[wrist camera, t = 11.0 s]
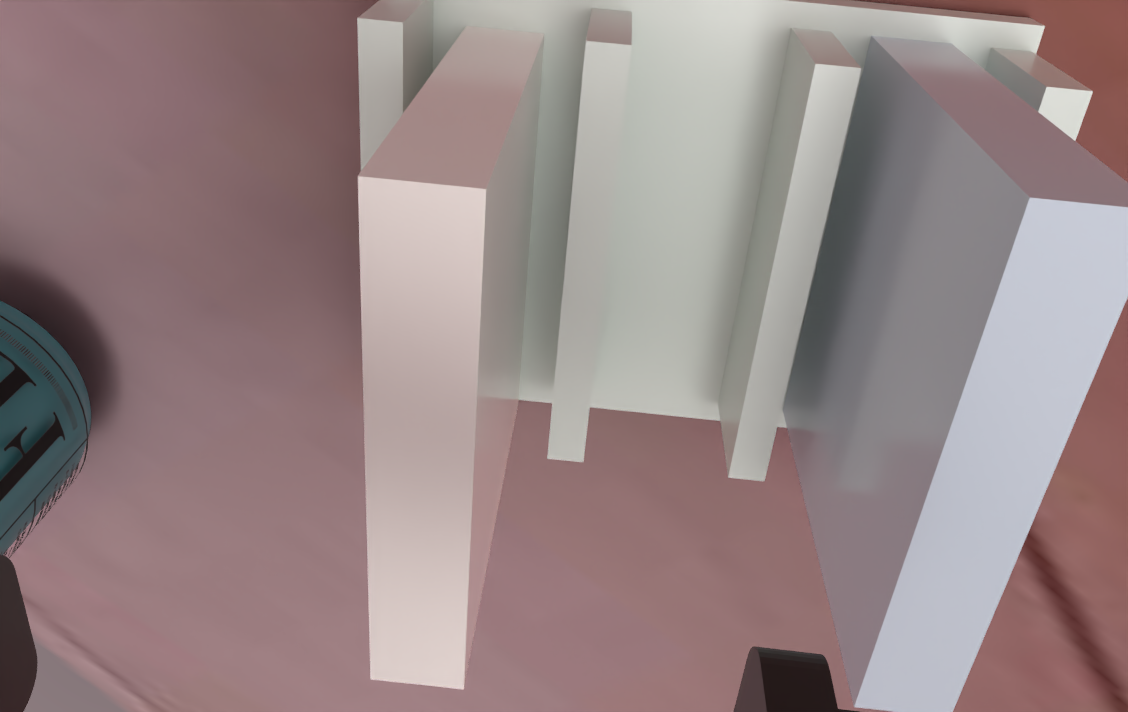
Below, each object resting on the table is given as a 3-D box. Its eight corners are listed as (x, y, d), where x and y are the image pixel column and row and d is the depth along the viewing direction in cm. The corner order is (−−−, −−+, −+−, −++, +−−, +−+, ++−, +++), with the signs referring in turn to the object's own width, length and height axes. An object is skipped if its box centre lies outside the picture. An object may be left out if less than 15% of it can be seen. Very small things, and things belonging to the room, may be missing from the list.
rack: (397, -45, 20) (351, -13, 17) (1030, 18, 20) (1109, 62, 16) (398, 370, 25) (363, 457, 22) (903, 422, 25) (944, 519, 22)
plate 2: (951, 43, 19) (1163, 211, 12) (847, 416, 24) (950, 717, 16) (871, 35, 19) (1029, 197, 12) (782, 410, 24) (853, 707, 16)
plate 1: (544, 33, 20) (486, 189, 12) (518, 403, 24) (463, 689, 17) (466, 25, 20) (357, 175, 12) (454, 396, 24) (370, 679, 17)
